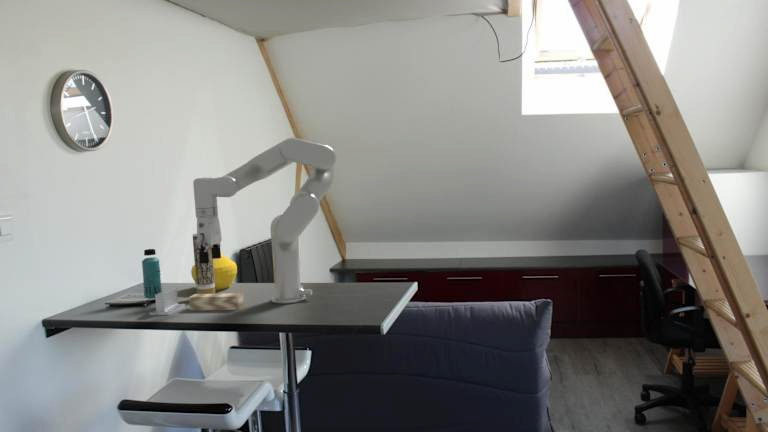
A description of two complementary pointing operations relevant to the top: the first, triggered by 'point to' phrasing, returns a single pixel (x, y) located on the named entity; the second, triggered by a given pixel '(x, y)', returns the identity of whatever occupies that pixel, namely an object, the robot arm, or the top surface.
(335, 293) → the top surface
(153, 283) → the beverage bottle
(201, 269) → the brown bark cylinder
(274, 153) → the robot arm
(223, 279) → the vase
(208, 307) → the beam
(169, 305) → the fulcrum
